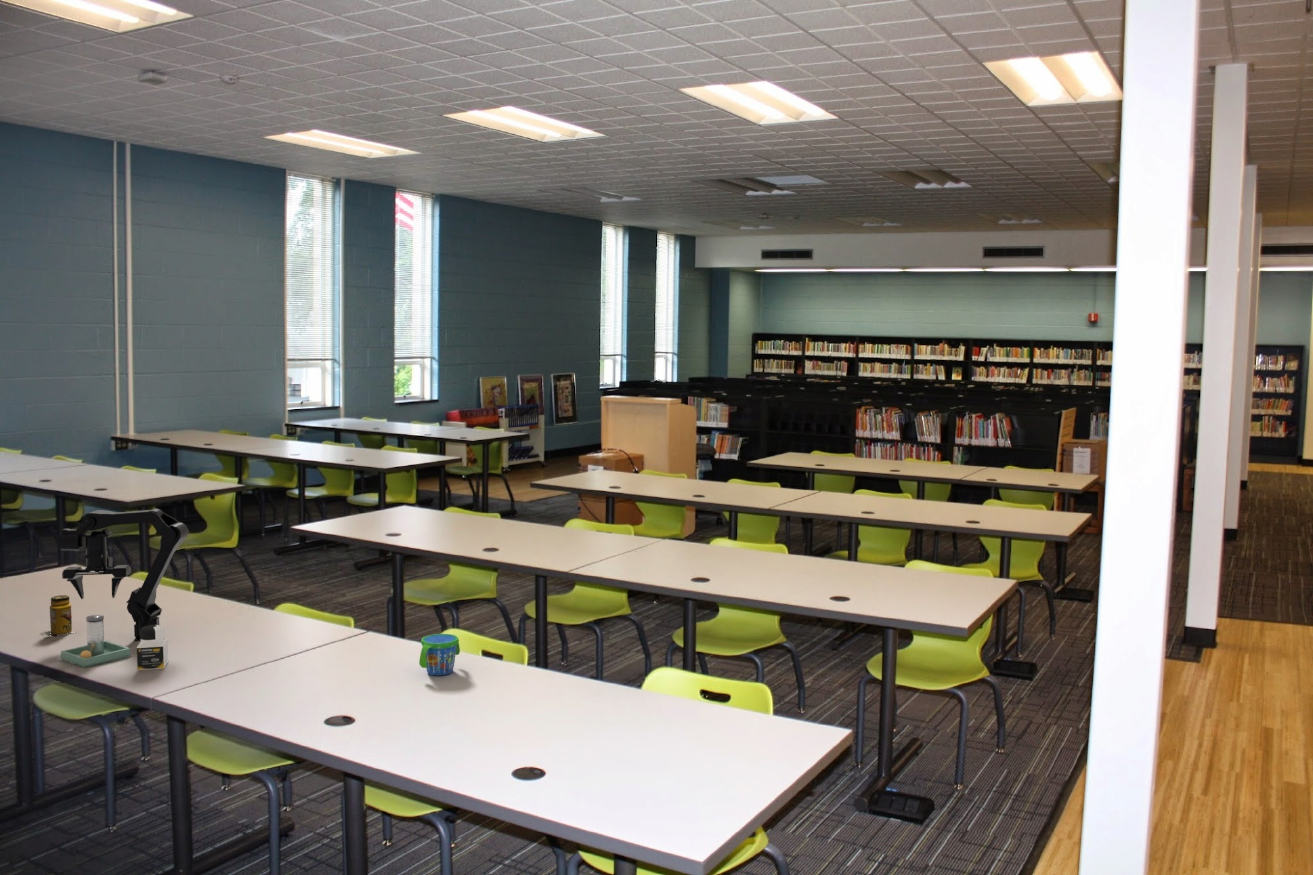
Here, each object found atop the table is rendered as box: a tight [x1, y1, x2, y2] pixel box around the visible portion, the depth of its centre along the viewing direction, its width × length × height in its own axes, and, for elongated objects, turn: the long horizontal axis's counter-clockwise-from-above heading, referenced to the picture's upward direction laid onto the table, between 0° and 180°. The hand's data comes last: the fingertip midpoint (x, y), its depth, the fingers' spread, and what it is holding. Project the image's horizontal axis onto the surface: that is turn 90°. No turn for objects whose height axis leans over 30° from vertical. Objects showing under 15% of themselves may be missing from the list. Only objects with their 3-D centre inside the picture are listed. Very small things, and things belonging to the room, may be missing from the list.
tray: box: [60, 640, 132, 669], centre depth 306 cm, size 14×14×2 cm
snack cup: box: [418, 633, 461, 676], centre depth 296 cm, size 16×10×10 cm
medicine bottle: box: [136, 624, 169, 671], centre depth 299 cm, size 7×7×12 cm
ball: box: [80, 650, 92, 658], centre depth 302 cm, size 3×3×3 cm
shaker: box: [85, 614, 105, 657], centre depth 306 cm, size 5×5×12 cm
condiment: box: [40, 594, 76, 638], centre depth 331 cm, size 7×8×12 cm
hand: (98, 598), depth 326 cm, fingers open, 9 cm apart
